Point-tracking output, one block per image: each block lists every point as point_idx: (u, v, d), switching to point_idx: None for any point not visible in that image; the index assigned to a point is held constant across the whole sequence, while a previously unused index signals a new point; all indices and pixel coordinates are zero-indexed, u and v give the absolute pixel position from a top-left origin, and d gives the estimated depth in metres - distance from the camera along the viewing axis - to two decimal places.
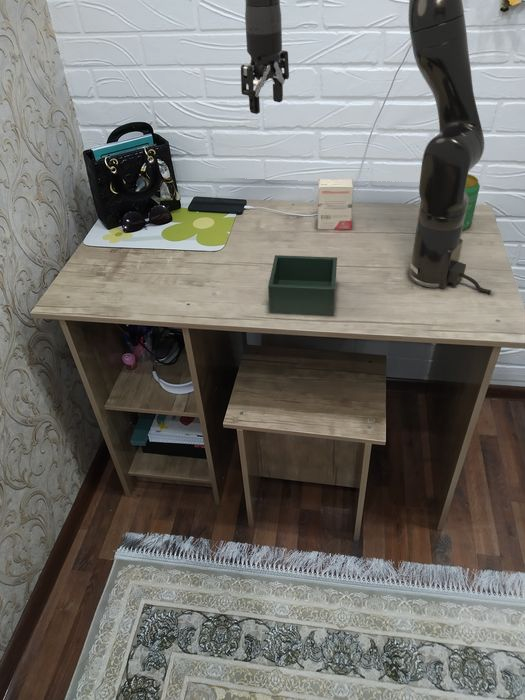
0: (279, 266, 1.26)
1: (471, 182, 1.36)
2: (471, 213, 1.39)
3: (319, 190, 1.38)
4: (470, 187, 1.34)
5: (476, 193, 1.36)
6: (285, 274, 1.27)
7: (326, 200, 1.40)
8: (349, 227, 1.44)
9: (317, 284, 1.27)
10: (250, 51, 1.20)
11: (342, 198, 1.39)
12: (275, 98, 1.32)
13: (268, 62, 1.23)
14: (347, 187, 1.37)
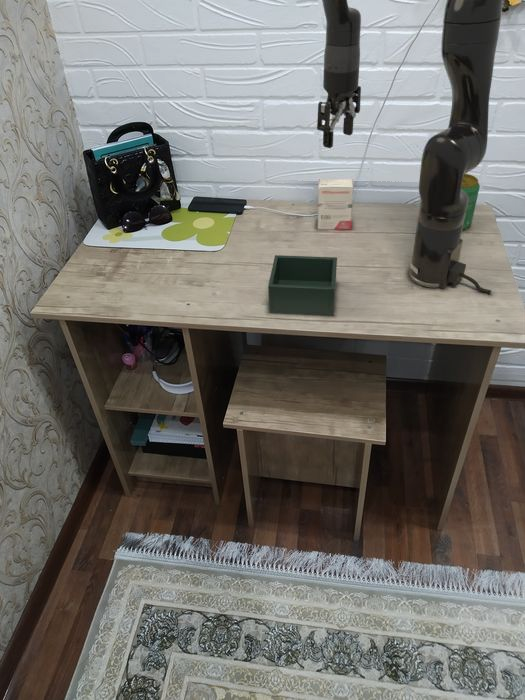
0: (279, 266, 1.26)
1: (471, 182, 1.36)
2: (471, 213, 1.39)
3: (319, 190, 1.38)
4: (470, 187, 1.34)
5: (476, 193, 1.36)
6: (285, 274, 1.27)
7: (326, 200, 1.40)
8: (349, 227, 1.44)
9: (317, 284, 1.27)
10: (328, 89, 1.22)
11: (342, 198, 1.39)
12: (345, 131, 1.34)
13: (343, 98, 1.25)
14: (347, 187, 1.37)
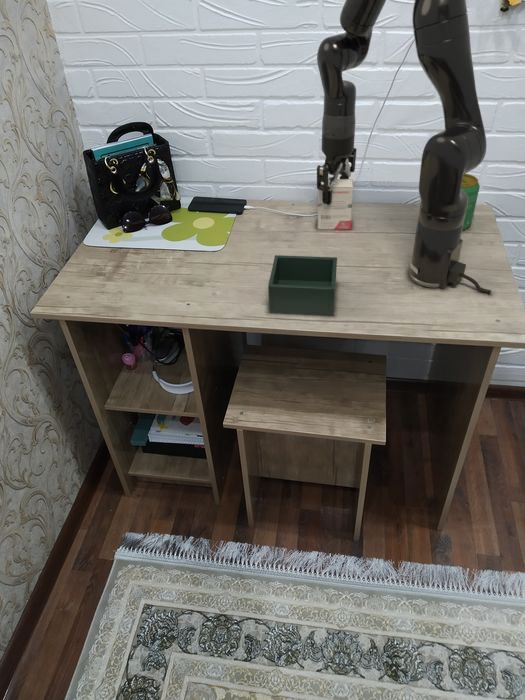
0: (279, 266, 1.26)
1: (471, 182, 1.36)
2: (471, 213, 1.39)
3: (319, 190, 1.38)
4: (470, 187, 1.34)
5: (476, 193, 1.36)
6: (285, 274, 1.27)
7: None
8: (349, 227, 1.44)
9: (317, 284, 1.27)
10: (326, 152, 1.31)
11: (342, 198, 1.39)
12: None
13: (340, 160, 1.34)
14: (347, 187, 1.37)
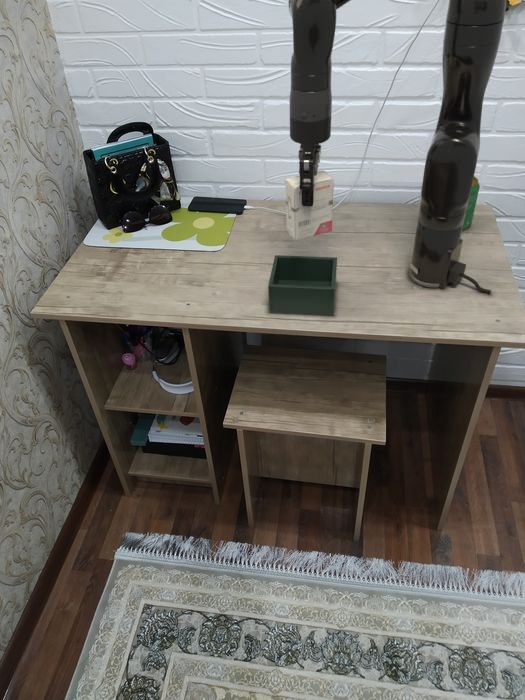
0: (279, 266, 1.26)
1: None
2: (471, 213, 1.39)
3: (295, 191, 1.09)
4: None
5: (476, 193, 1.36)
6: (285, 274, 1.27)
7: None
8: (330, 228, 1.18)
9: (317, 284, 1.27)
10: (303, 141, 1.02)
11: (322, 195, 1.12)
12: None
13: (315, 148, 1.06)
14: (327, 180, 1.10)
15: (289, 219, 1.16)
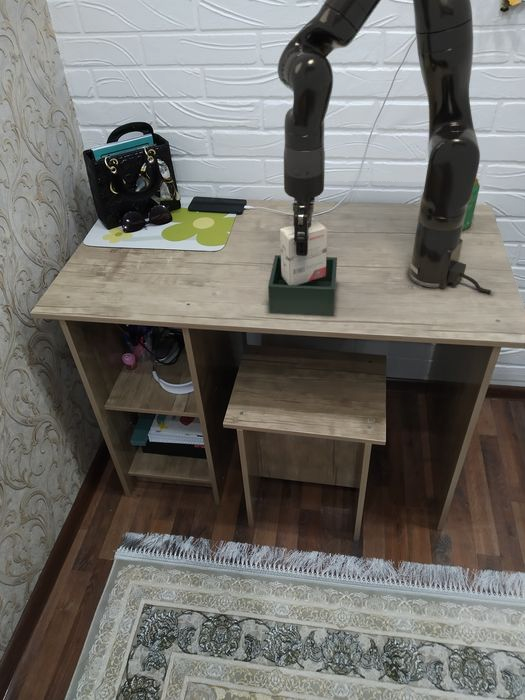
0: (279, 266, 1.26)
1: None
2: (471, 213, 1.39)
3: (290, 242, 1.11)
4: None
5: (476, 193, 1.36)
6: None
7: None
8: (324, 274, 1.20)
9: (317, 284, 1.27)
10: (297, 195, 1.05)
11: (316, 244, 1.14)
12: None
13: (309, 200, 1.09)
14: (320, 230, 1.13)
15: (284, 266, 1.18)
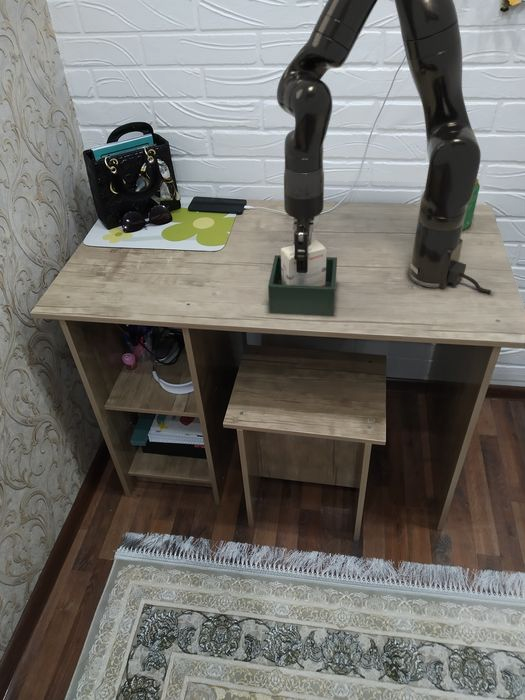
0: (279, 266, 1.26)
1: None
2: (471, 213, 1.39)
3: (290, 262, 1.14)
4: None
5: (476, 193, 1.36)
6: None
7: None
8: None
9: None
10: (297, 215, 1.07)
11: (316, 263, 1.17)
12: None
13: (309, 219, 1.11)
14: (320, 250, 1.16)
15: (284, 284, 1.21)
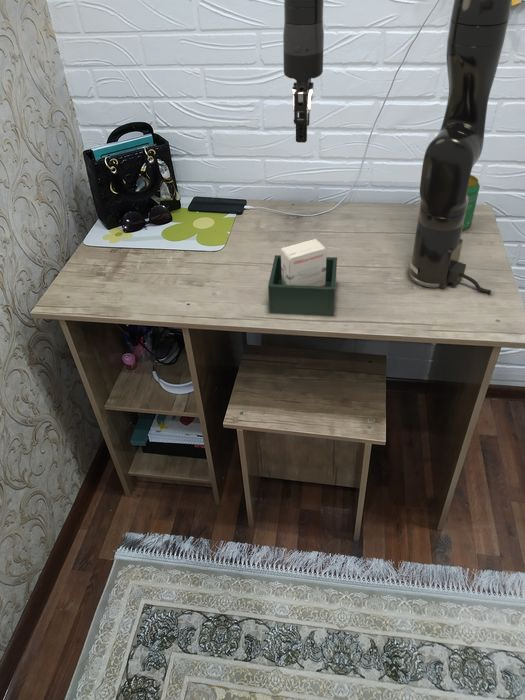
0: (279, 266, 1.26)
1: (471, 182, 1.36)
2: (471, 213, 1.39)
3: (290, 262, 1.14)
4: (470, 187, 1.34)
5: (476, 193, 1.36)
6: None
7: (299, 270, 1.16)
8: None
9: None
10: (297, 75, 1.07)
11: (316, 263, 1.17)
12: None
13: (308, 84, 1.11)
14: (320, 250, 1.16)
15: (284, 284, 1.21)
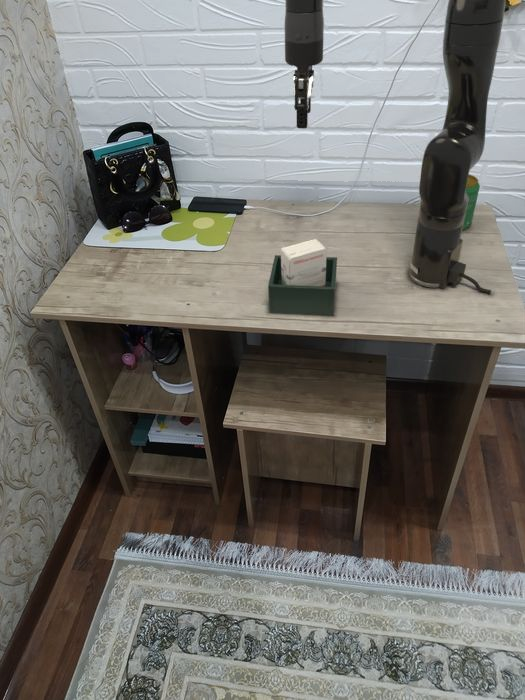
0: (279, 266, 1.26)
1: (471, 182, 1.36)
2: (471, 213, 1.39)
3: (290, 262, 1.14)
4: (470, 187, 1.34)
5: (476, 193, 1.36)
6: None
7: (299, 270, 1.16)
8: None
9: None
10: (298, 62, 1.10)
11: (316, 263, 1.17)
12: None
13: (309, 72, 1.14)
14: (320, 250, 1.16)
15: (284, 284, 1.21)
